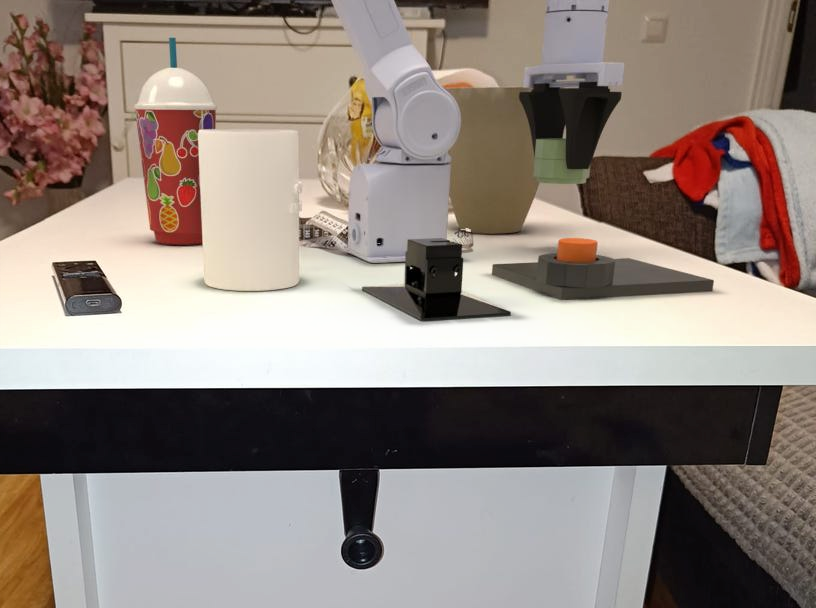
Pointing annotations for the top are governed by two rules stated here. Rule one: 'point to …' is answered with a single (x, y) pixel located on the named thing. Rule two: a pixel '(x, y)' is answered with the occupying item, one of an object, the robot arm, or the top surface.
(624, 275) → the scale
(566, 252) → the button
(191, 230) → the smoothie
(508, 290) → the top surface
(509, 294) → the top surface
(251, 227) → the mug
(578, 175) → the bowl
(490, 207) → the plant pot
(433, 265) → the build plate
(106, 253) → the top surface
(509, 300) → the top surface
